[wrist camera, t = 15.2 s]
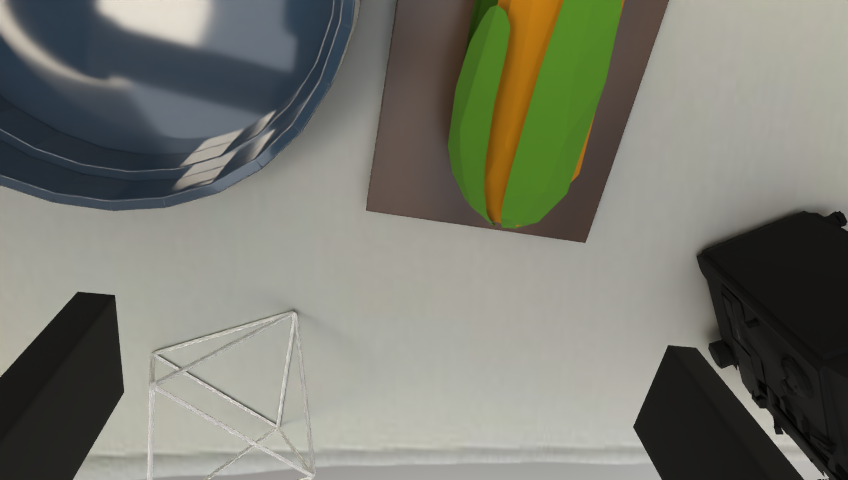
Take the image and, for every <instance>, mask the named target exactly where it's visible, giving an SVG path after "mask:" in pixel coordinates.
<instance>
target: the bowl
mask: <svg viewBox="0 0 848 480" xmlns="http://www.w3.org/2000/svg"><path fill="white" fill-rule="evenodd" d="M359 9H360V0H0V185H1V186H4V187H7V188H10V189H14V190H17V191H20V192H23V193H26V194H29V195H32V196H35V197H38V198H41V199H44V200H47V201H50V202H55V203H60V204H67V205H74V206H81V207H88V208H96V209H103V210H110V211H111V210H112V211H118V210H135V209H152V208H166V207H171V206H174V205H178V204H182V203H185V202H189V201H192V200H196V199H199V198H203V197H206V196H210V195H213V194H217V193H219V192H221V191H223V190H225V189H227V188H228V187H230V186H232V185H234V184H236V183H237V182H239V181H241V180H243V179H244V178H246V177H248V176H250V175H252V174H253V173H255V172H257V171H259V170H261V169H262V168H263V167H265V166H266V165H267V164H268V163H269V162H270V161H271V160H272V159H273V158H274V157H275V156H276V155H277V154H279V153H280V152H281V151H282V150H283V149H284V148H285V147H286V146H287V145H288V144H289V143H290V142H291V141H292V140H293V139H295V138H296V137H297V136H298V135H299V134H300V133H301V131H302V130H303V129H304V127H305V126H306V124H307V123H308V121H309V120H310V118H311V117H312V115H313V113H314V112H315V110H316V109H317V107H318V106H319V104H320V103H321V101H322V100H323V98H324V96H325V95H326V93H327V92H328V90H329V89H330V87H331V85H332V83H333V81H334V79H335V77H336V75H337V73H338V71H339V69H340V67H341V65H342V62H343V59H344V56H345V54H346V51H347V48H348V45H349V42H350V39H351V37H352V34H353V31H354V28H355V25H356V23H357V20H358V16H359Z"/></svg>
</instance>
